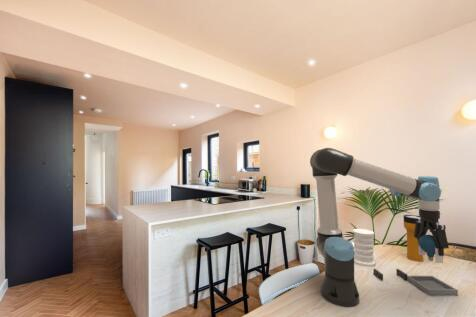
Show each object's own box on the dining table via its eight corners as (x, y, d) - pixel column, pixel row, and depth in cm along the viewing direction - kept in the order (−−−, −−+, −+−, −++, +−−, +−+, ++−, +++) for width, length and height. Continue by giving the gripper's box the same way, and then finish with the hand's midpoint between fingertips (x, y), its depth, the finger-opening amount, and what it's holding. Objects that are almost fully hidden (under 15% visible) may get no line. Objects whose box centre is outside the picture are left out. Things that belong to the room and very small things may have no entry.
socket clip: (380, 280, 110) (380, 274, 110) (373, 274, 116) (373, 268, 116) (407, 280, 110) (407, 274, 110) (398, 274, 116) (398, 268, 116)
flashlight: (404, 216, 135) (402, 213, 144) (405, 259, 134) (403, 254, 143) (425, 218, 130) (422, 215, 138) (426, 263, 129) (423, 257, 138)
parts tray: (429, 295, 97) (428, 289, 97) (406, 280, 110) (406, 275, 110) (457, 295, 97) (457, 289, 97) (432, 280, 110) (432, 275, 110)
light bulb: (447, 265, 99) (446, 238, 99) (425, 264, 100) (425, 237, 101) (435, 258, 107) (434, 233, 107) (415, 256, 109) (414, 231, 109)
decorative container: (354, 264, 127) (354, 233, 128) (351, 257, 138) (350, 227, 139) (377, 268, 123) (377, 235, 124) (372, 259, 134) (372, 229, 135)
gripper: (459, 214, 94) (461, 268, 93) (418, 205, 115) (419, 249, 114) (441, 214, 94) (443, 268, 93) (404, 205, 115) (405, 249, 114)
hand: (430, 258), depth 104 cm, fingers closed on light bulb, 8 cm apart
